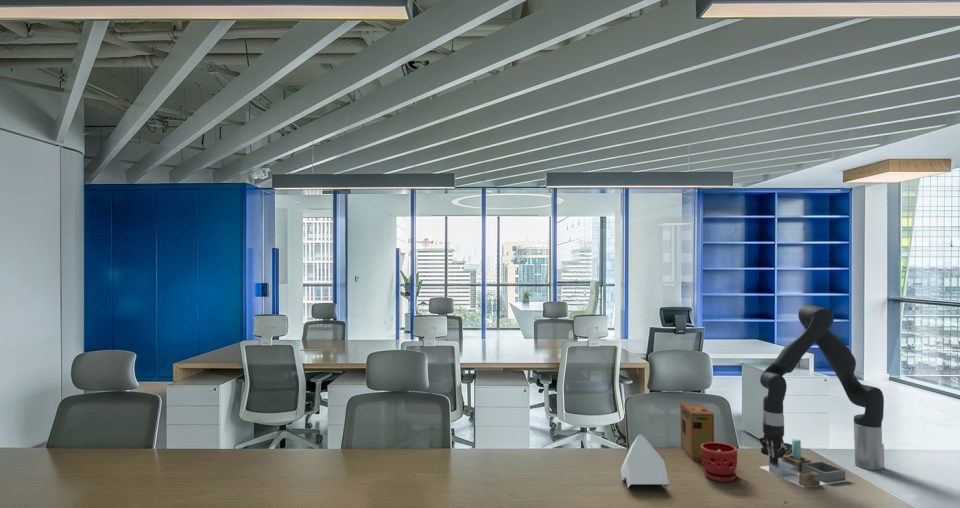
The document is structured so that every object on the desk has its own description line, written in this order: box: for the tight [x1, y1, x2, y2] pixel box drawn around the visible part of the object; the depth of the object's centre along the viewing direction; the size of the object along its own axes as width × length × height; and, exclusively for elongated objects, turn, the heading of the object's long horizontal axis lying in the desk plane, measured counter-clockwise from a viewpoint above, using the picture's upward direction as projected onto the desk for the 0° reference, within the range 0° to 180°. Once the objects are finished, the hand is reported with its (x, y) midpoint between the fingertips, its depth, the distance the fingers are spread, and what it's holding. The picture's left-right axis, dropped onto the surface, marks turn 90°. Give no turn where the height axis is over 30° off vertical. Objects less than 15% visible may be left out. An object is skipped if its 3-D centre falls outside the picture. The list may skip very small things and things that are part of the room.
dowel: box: [791, 438, 802, 460], centre depth 205 cm, size 3×3×11 cm
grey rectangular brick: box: [768, 461, 798, 478], centre depth 199 cm, size 8×6×3 cm
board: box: [759, 465, 848, 488], centre depth 199 cm, size 22×20×1 cm
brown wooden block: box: [799, 472, 821, 488], centre depth 189 cm, size 7×2×4 cm, turn 105°
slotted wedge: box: [620, 434, 670, 489], centre depth 194 cm, size 14×11×18 cm
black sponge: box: [760, 442, 792, 455], centre depth 225 cm, size 16×8×4 cm, turn 131°
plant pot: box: [701, 441, 738, 483], centre depth 199 cm, size 13×13×12 cm
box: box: [679, 403, 715, 462], centre depth 224 cm, size 17×9×20 cm, turn 174°
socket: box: [781, 454, 812, 472], centre depth 205 cm, size 7×7×4 cm
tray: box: [801, 460, 846, 483], centre depth 196 cm, size 10×10×4 cm
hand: (773, 465), depth 204 cm, fingers closed
